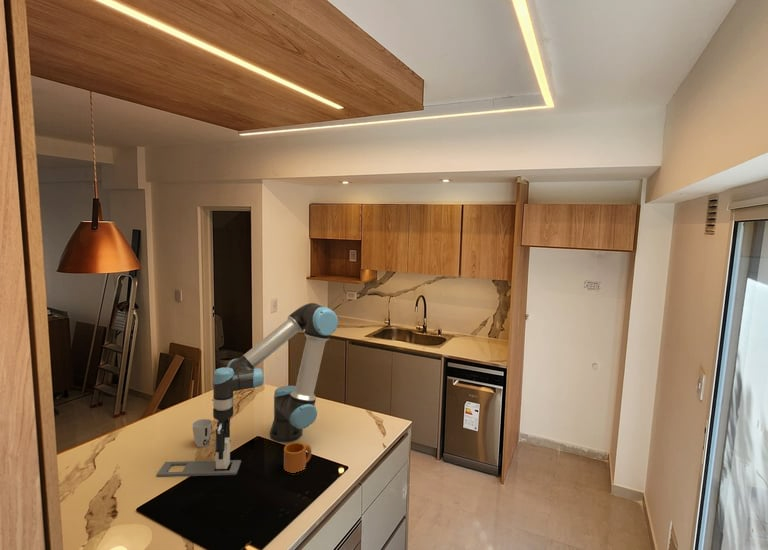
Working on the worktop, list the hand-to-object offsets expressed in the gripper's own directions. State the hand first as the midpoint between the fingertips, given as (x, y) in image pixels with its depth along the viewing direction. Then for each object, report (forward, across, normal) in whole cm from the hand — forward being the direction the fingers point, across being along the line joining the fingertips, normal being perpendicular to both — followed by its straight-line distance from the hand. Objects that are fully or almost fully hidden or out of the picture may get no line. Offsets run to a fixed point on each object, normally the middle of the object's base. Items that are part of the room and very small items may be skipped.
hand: (223, 462), depth 173 cm
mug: (+3, 0, +30) cm, 30 cm away
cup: (+3, -20, -14) cm, 25 cm away
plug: (+2, 0, 0) cm, 2 cm away
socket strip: (+3, 0, -9) cm, 9 cm away
